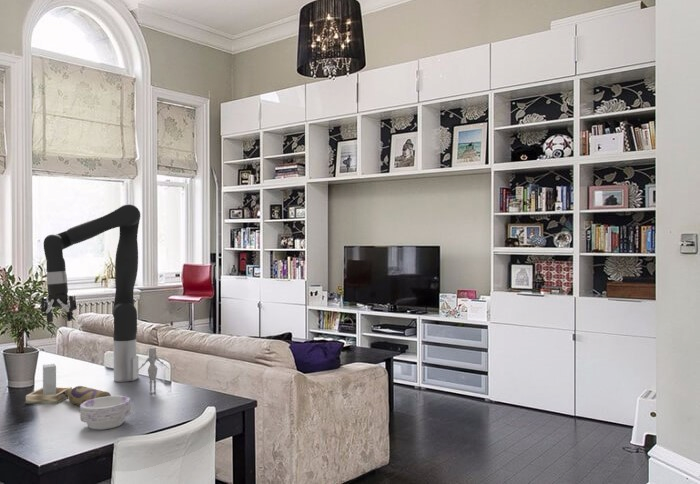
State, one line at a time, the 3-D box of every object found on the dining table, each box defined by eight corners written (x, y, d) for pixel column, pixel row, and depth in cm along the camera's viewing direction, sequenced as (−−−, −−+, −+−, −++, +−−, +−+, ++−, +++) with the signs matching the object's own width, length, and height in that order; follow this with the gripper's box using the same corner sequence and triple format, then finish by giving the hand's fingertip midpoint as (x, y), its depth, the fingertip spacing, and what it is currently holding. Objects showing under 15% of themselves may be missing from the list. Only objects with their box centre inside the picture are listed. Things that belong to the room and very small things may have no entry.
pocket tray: (71, 394, 228) (71, 387, 228) (56, 403, 217) (56, 395, 217) (42, 395, 229) (42, 387, 229) (25, 403, 217) (25, 395, 217)
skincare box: (56, 398, 221) (56, 366, 221) (43, 399, 219) (43, 367, 219) (55, 394, 227) (54, 363, 226) (42, 396, 224) (42, 364, 224)
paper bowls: (80, 422, 195) (80, 398, 195) (129, 415, 201) (129, 392, 201) (79, 436, 181) (79, 410, 181) (132, 429, 187) (132, 404, 187)
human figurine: (167, 390, 234) (167, 345, 233) (169, 392, 230) (169, 347, 230) (136, 394, 228) (135, 348, 228) (137, 397, 225) (136, 350, 225)
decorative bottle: (113, 408, 211) (113, 389, 211) (93, 413, 205) (93, 394, 204) (75, 397, 226) (75, 379, 226) (56, 401, 220) (55, 384, 220)
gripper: (78, 280, 247) (81, 319, 247) (47, 283, 249) (50, 321, 249) (67, 282, 239) (70, 321, 239) (35, 284, 241) (38, 323, 241)
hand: (60, 321), depth 244 cm, fingers open, 8 cm apart
